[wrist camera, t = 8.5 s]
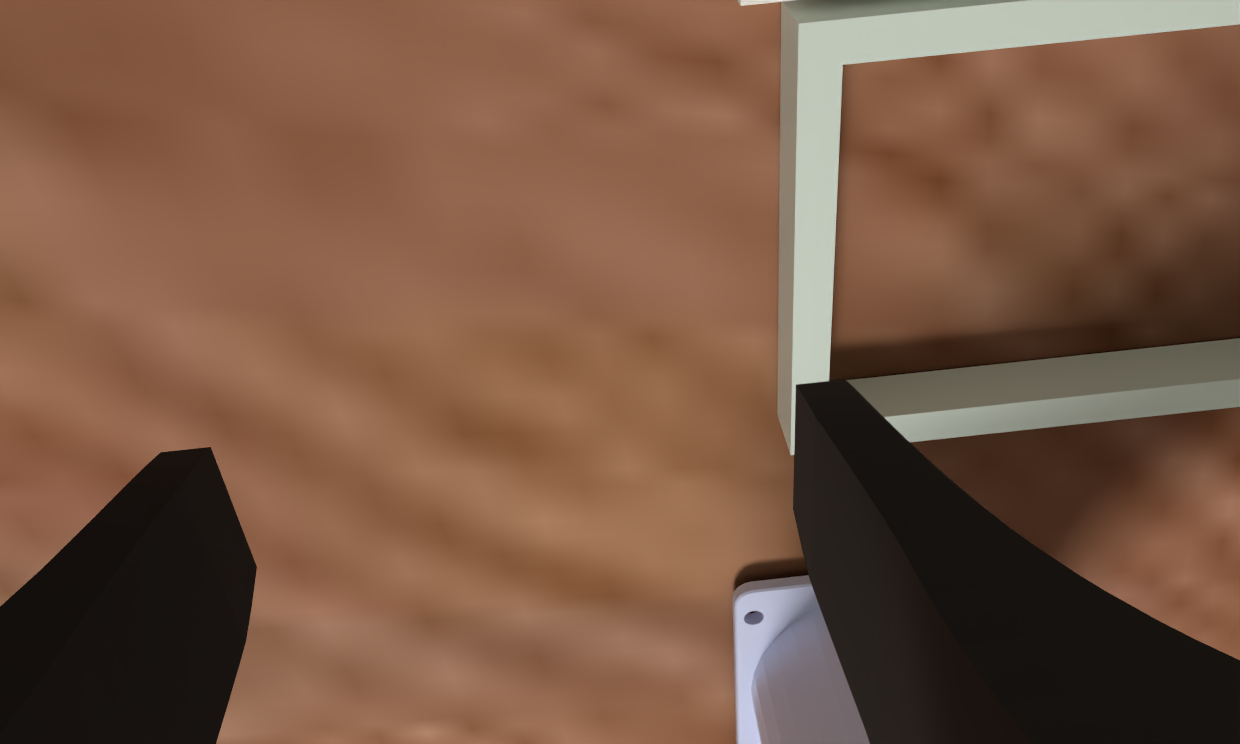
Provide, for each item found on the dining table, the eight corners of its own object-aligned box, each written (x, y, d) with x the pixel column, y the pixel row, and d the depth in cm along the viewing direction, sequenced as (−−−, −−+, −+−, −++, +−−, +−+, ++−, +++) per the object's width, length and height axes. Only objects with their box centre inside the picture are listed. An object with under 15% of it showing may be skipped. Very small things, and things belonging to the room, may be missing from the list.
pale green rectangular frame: (1345, 353, 25) (1387, 390, 24) (777, 414, 25) (790, 455, 24) (1508, -74, 20) (1574, -55, 18) (781, -1, 19) (798, 23, 18)
